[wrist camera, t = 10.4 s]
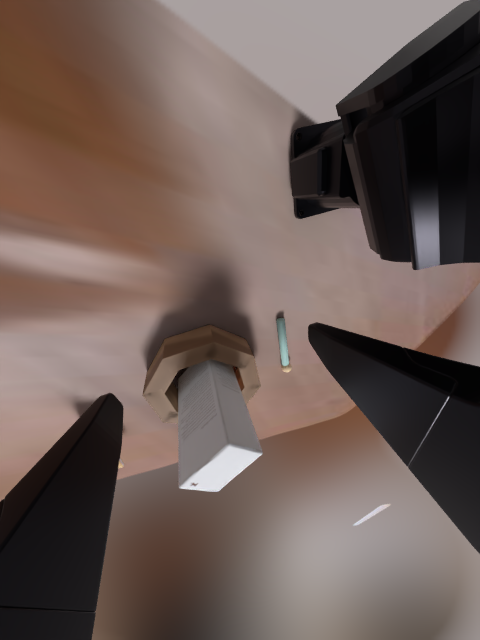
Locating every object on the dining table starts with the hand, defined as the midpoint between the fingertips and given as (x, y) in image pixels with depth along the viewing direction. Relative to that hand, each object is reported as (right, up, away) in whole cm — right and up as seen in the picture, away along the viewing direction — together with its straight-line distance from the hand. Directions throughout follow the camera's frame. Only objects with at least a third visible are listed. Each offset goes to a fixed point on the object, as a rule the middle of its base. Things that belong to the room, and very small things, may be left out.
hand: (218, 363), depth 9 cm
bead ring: (-4, -4, +17) cm, 18 cm away
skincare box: (-4, -4, +17) cm, 18 cm away
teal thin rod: (+7, -1, +18) cm, 19 cm away
